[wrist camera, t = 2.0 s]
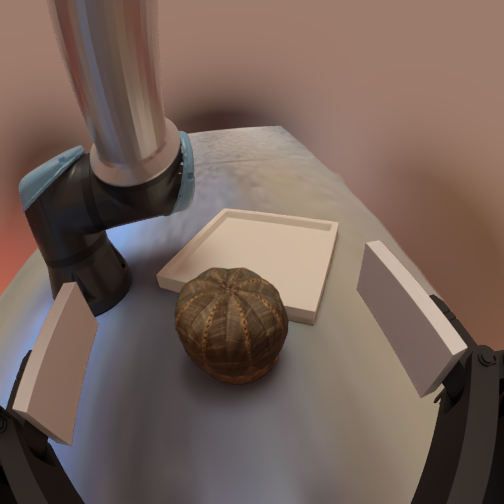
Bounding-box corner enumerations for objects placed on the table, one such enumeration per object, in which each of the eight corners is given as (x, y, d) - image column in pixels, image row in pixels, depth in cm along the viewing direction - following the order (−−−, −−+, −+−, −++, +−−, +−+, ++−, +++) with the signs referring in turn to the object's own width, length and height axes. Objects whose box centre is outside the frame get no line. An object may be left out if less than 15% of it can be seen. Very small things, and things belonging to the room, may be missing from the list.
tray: (159, 287, 42) (155, 274, 41) (225, 218, 61) (224, 208, 59) (313, 325, 34) (315, 311, 33) (337, 233, 53) (338, 222, 51)
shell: (176, 386, 28) (140, 313, 21) (212, 319, 36) (195, 242, 30) (272, 411, 25) (272, 342, 18) (293, 333, 34) (297, 253, 27)
